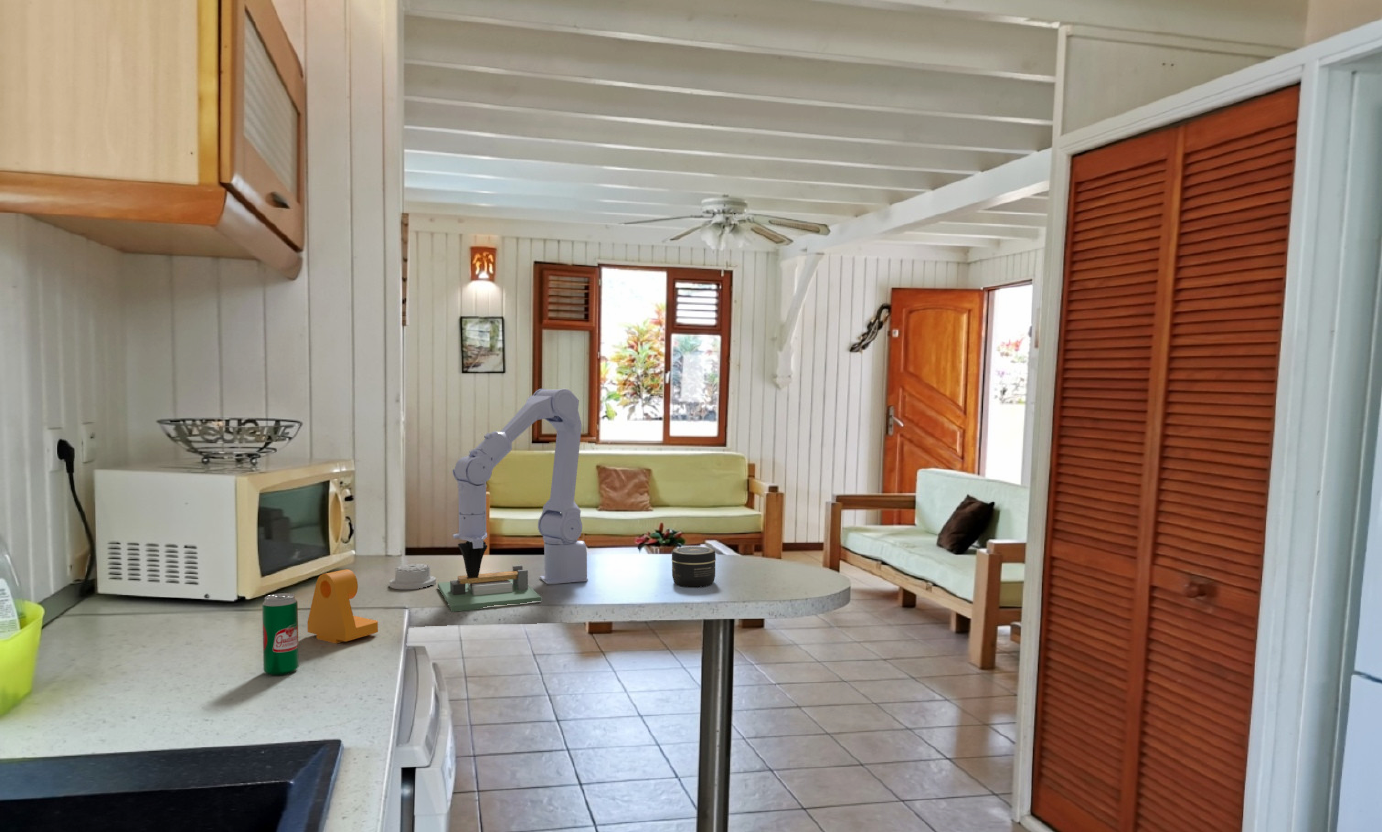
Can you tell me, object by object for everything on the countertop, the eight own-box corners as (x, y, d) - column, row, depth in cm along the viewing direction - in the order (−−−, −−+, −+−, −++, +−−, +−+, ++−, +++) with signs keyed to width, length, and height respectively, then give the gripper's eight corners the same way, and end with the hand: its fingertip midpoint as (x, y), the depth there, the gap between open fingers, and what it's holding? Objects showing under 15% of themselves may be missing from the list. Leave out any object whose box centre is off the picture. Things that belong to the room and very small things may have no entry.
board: (518, 581, 204) (518, 558, 204) (541, 602, 184) (540, 577, 184) (437, 588, 197) (437, 564, 197) (451, 611, 177) (451, 585, 177)
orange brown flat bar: (521, 575, 195) (521, 569, 195) (525, 579, 192) (525, 572, 192) (457, 581, 190) (457, 575, 190) (460, 585, 187) (460, 578, 186)
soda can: (276, 678, 137) (274, 601, 137) (256, 673, 140) (255, 597, 139) (305, 669, 141) (304, 594, 141) (286, 664, 144) (284, 591, 144)
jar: (664, 581, 204) (664, 548, 204) (702, 577, 208) (702, 544, 208) (684, 590, 195) (683, 555, 195) (723, 585, 200) (723, 551, 199)
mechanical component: (383, 591, 196) (427, 591, 196) (382, 571, 196) (427, 571, 196) (398, 580, 206) (441, 581, 206) (398, 562, 206) (441, 562, 206)
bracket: (380, 636, 161) (379, 570, 160) (345, 646, 154) (344, 577, 154) (342, 627, 166) (341, 563, 166) (307, 636, 160) (306, 570, 160)
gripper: (448, 509, 194) (448, 571, 194) (458, 518, 181) (458, 585, 181) (481, 508, 197) (481, 569, 197) (493, 516, 183) (493, 582, 184)
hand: (472, 576), depth 189 cm, fingers closed, pressing on orange brown flat bar
